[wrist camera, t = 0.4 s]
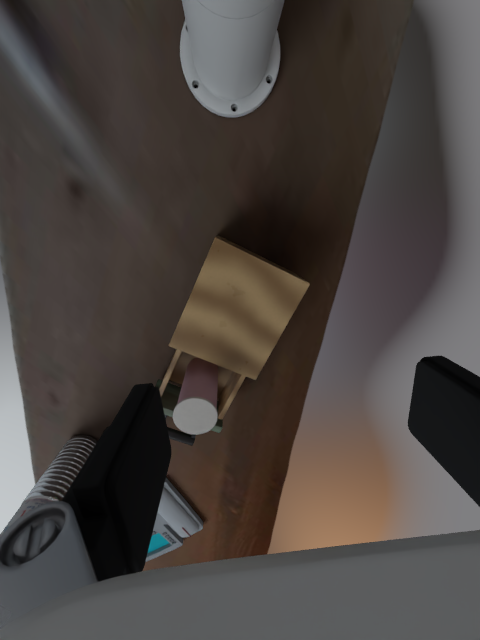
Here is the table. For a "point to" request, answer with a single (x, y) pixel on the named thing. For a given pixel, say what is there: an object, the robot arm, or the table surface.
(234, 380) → the drawer
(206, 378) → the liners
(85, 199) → the table surface
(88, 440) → the water bottle
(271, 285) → the wood-grain box
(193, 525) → the office telephone
